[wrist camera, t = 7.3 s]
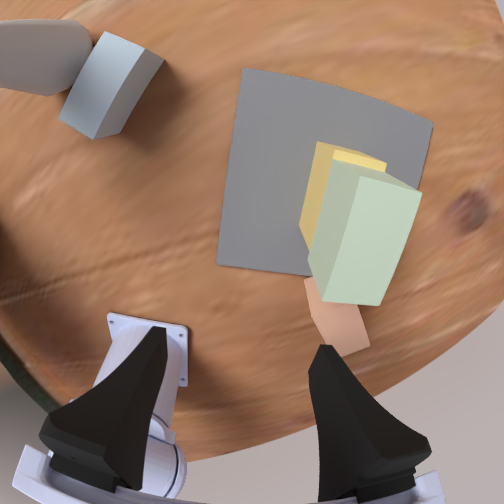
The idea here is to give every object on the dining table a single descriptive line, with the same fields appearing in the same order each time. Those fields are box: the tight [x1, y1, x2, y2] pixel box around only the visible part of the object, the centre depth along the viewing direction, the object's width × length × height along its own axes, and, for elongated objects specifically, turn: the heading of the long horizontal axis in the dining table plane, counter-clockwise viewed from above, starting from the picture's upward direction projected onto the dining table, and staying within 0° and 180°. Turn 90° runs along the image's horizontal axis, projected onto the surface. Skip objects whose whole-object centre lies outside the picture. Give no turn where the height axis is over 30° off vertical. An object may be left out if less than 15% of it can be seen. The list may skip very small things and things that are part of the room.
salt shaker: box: [0, 19, 93, 96], centre depth 8 cm, size 6×6×13 cm
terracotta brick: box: [304, 277, 371, 357], centre depth 21 cm, size 6×3×4 cm, turn 28°
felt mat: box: [216, 68, 433, 276], centre depth 19 cm, size 14×14×1 cm
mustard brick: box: [299, 141, 387, 252], centre depth 17 cm, size 6×3×4 cm, turn 171°
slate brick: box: [58, 31, 165, 140], centre depth 14 cm, size 6×3×4 cm, turn 144°
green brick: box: [307, 159, 422, 306], centre depth 13 cm, size 6×3×4 cm, turn 171°
